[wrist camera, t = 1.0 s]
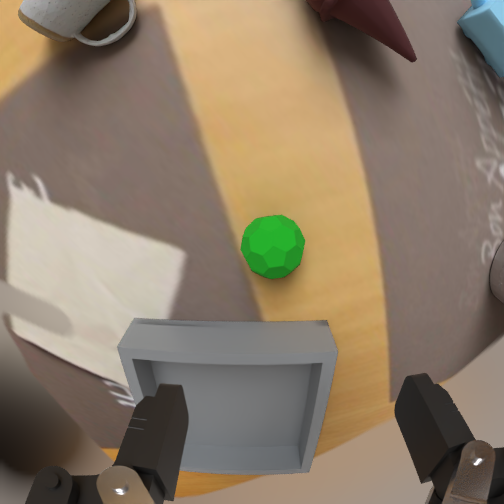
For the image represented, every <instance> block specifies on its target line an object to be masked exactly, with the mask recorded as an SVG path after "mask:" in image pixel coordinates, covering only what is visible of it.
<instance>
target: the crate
mask: <svg viewBox="0 0 504 504" xmlns="http://www.w3.org/2000/svg"><path fill="white" fill-rule="evenodd" d="M117 348H118V352H119V355H120V359H121V362H122V365H123V368H124V372H125V375H126V378H127V381H128V384H129V387H130V390H131V393H132V396H133V399H134V402H135V404H136V405H137V404H138V403H139V402H140V401H141V400H142V399H143V398H144V397H145V396H153V397H155V395H156V392H157V389H158V386H159V384H160V383H166V384H178V385H182V387H183V390H184V395H185V400H186V404H187V409H188V414H189V424H188V431H187V435H186V440H185V445H184V450H183V455H182V460H181V465H180V470H181V471H190V472H201V473H215V474H240V475H269V474H293V473H306V472H309V471H310V468H311V464H312V461H313V457H314V454H315V450H316V447H317V443H318V439H319V435H320V431H321V427H322V423H323V419H324V415H325V411H326V407H327V402H328V398H329V393H330V389H331V384H332V380H333V375H334V370H335V365H336V360H337V354H338V350H337V347H336V344H335V341H334V339H333V336H332V333H331V330H330V328H329V325H328V322H327V320H321V321H283V322H222V321H184V320H160V319H142V318H134V319H133V321H132V323H131V324H130V326H129V328H128V329H127V331H126V333H125V334H124V336H123V338H122V339H121V341H120V343H119V344H118V346H117Z"/></svg>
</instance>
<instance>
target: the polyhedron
mask: <svg viewBox="0 0 504 504" xmlns="http://www.w3.org/2000/svg"><path fill="white" fill-rule="evenodd" d="M304 244H305V239H304V237H303V235H302V233H301V230H300V228H299V227H298V226H297V225H296V223H295V222H294V221H293V220H291V219H289V218H287V217H285V216H283V215H274V216H266V217H261V218H256V219H255V220H254V221H253V222H252V223H251V224H250V225H249V226H248V227H246V229H245V232H244V235H243V238H242V244H241V251H242V253H243V255H244V257H245V259H246V261H247V263H248V264H249V266H250V268H251V270H252V271H253V272H255V273H257V274H259V275H261V276H263V277H266V278H269V279H275V278H282V277H285V276H287V275H288V274H290V273H291V272H292V271H293V270H294V269H295V268H297V267H298V266H299V265H300V262H301V258H302V254H303V249H304Z"/></svg>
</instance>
